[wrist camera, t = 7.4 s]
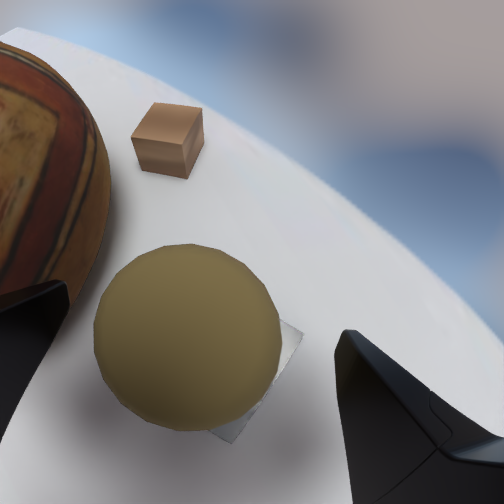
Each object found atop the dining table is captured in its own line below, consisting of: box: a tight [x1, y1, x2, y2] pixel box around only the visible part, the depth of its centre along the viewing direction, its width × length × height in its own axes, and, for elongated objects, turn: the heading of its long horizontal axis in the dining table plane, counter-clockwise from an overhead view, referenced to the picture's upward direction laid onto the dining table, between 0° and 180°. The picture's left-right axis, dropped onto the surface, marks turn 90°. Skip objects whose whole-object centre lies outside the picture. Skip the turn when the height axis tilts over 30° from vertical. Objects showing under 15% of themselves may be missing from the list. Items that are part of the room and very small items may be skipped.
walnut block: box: [131, 102, 204, 179], centre depth 21 cm, size 4×4×4 cm
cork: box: [94, 244, 283, 431], centre depth 11 cm, size 6×6×11 cm
